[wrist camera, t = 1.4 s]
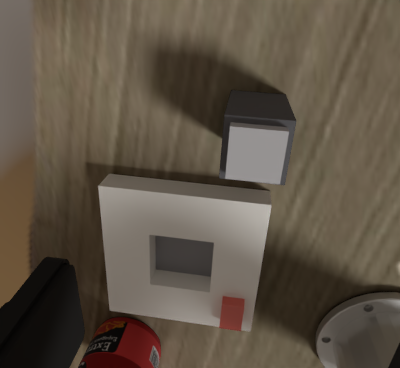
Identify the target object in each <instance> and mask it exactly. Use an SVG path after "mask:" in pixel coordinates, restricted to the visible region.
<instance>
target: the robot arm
mask: <svg viewBox="0 0 400 368" xmlns="http://www.w3.org/2000/svg"><path fill="white" fill-rule="evenodd" d="M84 332H85V329H84V323H83V317H82V311H81V305H80V299H79V293H78V287H77V281H76V275H75V269H74V266H73V265H70V264H69V261H68V260H67V259H60V258H52V257H46V258H44V259H43V260H42V262H41V263H40V264H39V265H38V267H37V268H36V269H35V270H34V271H33V273H32V274H31V275H30V276H29V278H28V279H27V280H26V281H25V283H24V284H23V285H22V286H21V288H20V289H19V290H18V291H17V293H16V294H15V295H14V296H13V298H12V299H11V300H10V301H9V302H7V303H5V304H4V305H3V306H2V307H1V308H0V368H69V367H70V365H71V363H72V361H73V359H74V357H75V355H76V353H77V351H78V349H79V347H80V345H81V343H82V341H83V338H84ZM315 343H316V349H317V354H318V356H319V359H320V361H321V363H322V364H323V366H324V367H325V368H400V293H397V292H379V293H371V294H365V295H362V296H358V297H355V298H352V299H350V300H348V301H345V302H343V303H341V304H340V305H338V306H337V307H335V308H334V309H332V310H331V311H330V312H329V313H328V314H327V315H326V316H325V317H324V318H323V320H322V321H321V323H320V324H319V326H318V329H317V332H316V338H315Z"/></svg>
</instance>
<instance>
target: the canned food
mask: <svg viewBox="0 0 400 368" xmlns="http://www.w3.org/2000/svg"><path fill="white" fill-rule="evenodd" d="M160 357H161V345H160V341H159V338H158V337H157V335H156V334H155V332H154V331H153V330H152V329H151V328H150V327H148V326H147V325H145V324H144V323H142V322H140V321H138V320H135V319H132V318H127V317H116V318H111V319H108V320H107V321H105V322H104V323H103V324H102V325H101V326H100V327H99V328H98V329H97V330H96V332H95V334H94V336H93V338H92V340H91V342H90V344H89V346H88V348H87V350H86V352H85V354H84V356H83V358H82V360H81V362H80V364H79V366H78V368H158V364H159V360H160Z"/></svg>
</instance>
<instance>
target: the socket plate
mask: <svg viewBox="0 0 400 368" xmlns="http://www.w3.org/2000/svg"><path fill="white" fill-rule="evenodd" d="M98 190H99V200H100V211H101V222H102V233H103V244H104V255H105V266H106V276H107V287H108V298H109V309H110V311H116V312H122V313H129V314H136V315H143V316H150V317H156V318H163V319H170V320H177V321H183V322H190V323H197V324H204V325H210V326H217V327H219V328H223V329H230V330H237V331H241V330H244V331H251V326H252V320H253V314H254V308H255V302H256V296H257V290H258V284H259V278H260V272H261V266H262V260H263V254H264V248H265V242H266V236H267V230H268V224H269V218H270V212H271V206H272V205H271V194H270V191H266V190H257V189H247V188H238V187H229V186H219V185H210V184H201V183H191V182H182V181H173V180H163V179H154V178H145V177H135V176H126V175H117V174H108V175H107V176H106V178H105V179H104V180H103V181H102V182H101V183H100V184H99V185H98Z"/></svg>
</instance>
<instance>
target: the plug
mask: <svg viewBox="0 0 400 368" xmlns="http://www.w3.org/2000/svg"><path fill="white" fill-rule="evenodd" d="M295 125H296V119H295V117H294V114H293V112H292V109H291V107H290V104H289V102H288V99H287V97H286V94H273V93H261V92H248V91H236V90H231V93H230V96H229V100H228V104H227V107H226V111H225V114H224V126H223V137H222V149H221V161H220V173H219V178H221V179H230V180H240V181H249V182H259V183H268V184H278V185H285V181H286V175H287V170H288V164H289V159H290V153H291V148H292V142H293V136H294V131H295Z"/></svg>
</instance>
